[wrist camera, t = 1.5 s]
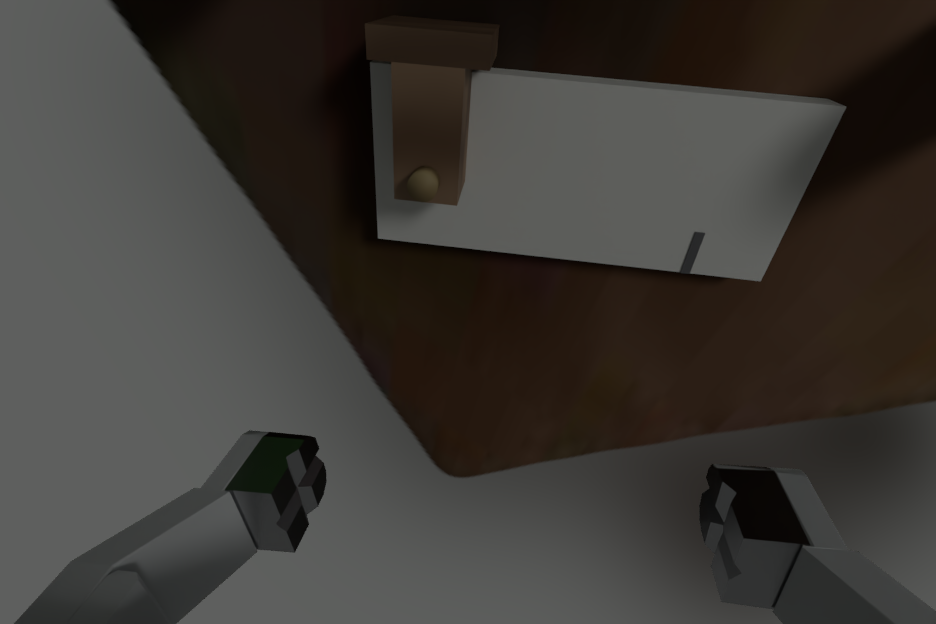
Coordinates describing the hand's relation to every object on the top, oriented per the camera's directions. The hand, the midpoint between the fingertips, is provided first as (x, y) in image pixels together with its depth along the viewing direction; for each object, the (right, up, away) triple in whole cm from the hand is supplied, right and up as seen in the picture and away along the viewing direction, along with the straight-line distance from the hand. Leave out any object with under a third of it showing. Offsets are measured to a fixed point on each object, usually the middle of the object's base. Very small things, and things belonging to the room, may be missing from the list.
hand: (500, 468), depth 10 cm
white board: (+7, +12, +21) cm, 25 cm away
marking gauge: (-2, +16, +19) cm, 25 cm away
